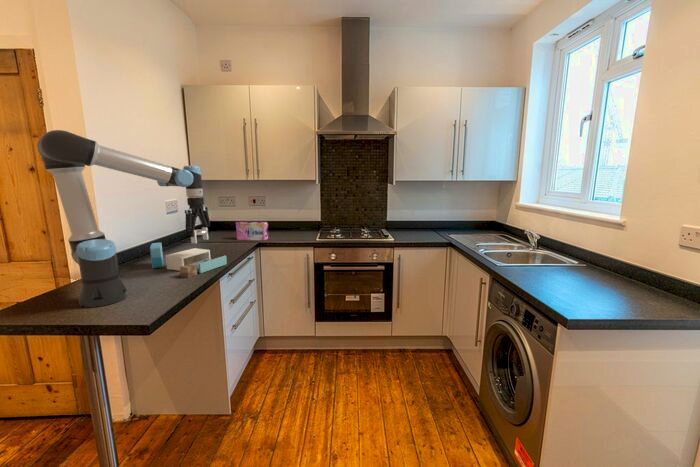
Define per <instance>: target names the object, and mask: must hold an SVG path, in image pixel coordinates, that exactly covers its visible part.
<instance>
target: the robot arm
mask: <svg viewBox="0 0 700 467" xmlns="http://www.w3.org/2000/svg"><path fill="white" fill-rule="evenodd" d="M36 148H37V152H38V154H39V155H40V156H41V159H42V162H43V165H44V169H45V171H47V172H49V173H51V174H52V176H53V179H54V183H55V185H56V189H57V191H58V195H59V199H60V202H61V205H62V208H63V211H64V214H65V218H66V221H67V223H68V227H69V231H70V233H71V234H70V236H69V238H68V239H67V240H68V243H69V246H70V250H71V251H70V252H71V259H73V262H75V263H76V264H77V265H78V268H79V273H80V279H81V288H80V292H79V296H78V304H79V306H80V307H82V306H84V307H83V308H95V307H96V308H98V307H103V306H108V305H111V304H114V303H118V302H121V301H124V300H125V299H126V298H128V296H129V295H128V289H127V288H126V286H125V284H124V282H123V281H122V280H121V277H120V270H119V261H118V256H117V254H118V253H117V247H116V244H115V242H114V241H112V240H110V239H107V238H106V235H105V233H104V232H103V231H101V230H99V227H98V224H97V220H96V218H95V217H96V216H95V213H94V210H93V206H92V202H91V199H90V196H89V193H88V188H87V186H86V182H85V179H84V174H83V171H84V170H85V169H86V166H87V167H92V166H97V167H103V168H106V169H110V170H114V171H118V172H122V173H126V174H130V175H133V176H137V177H141V178H145V179H149V180H152V181H153V180H154V181H156V182H157V185H158V186H160V187H165V188H167V187H181V188H185V193H186V195H185V196H186V197H187V199H186V201H187V203H186V204H187V206H189V207H188V209H184V213H185V231H189V237H190V241H191V244H197V243H198V241H197V240H198V239H197V235H196V230H197V229H195V227H196V224H197V222H196V221H197V218H199V221H200V222H201V225H202V226H201V229H207V230H208V231H209V228H210V226H211V220H210V217H209V216H210V215H209V210H208V207H207V206H203V205H205V198H204V197H203V196H204V193H203V190H204V189H203V180H202V173H201V168H200V166H199V165H184V166H183V168H178V167H174V166H172V165H171V166H170V165H168V164H164V163H161V162H157V161H154V160H150V159H147V158H145V157H144V158H143V157H142V156H141V157H140V156H137V155H134V154H130V153H127V152H123V151H120V150H116V149H113V148H111V147H106V146H103V145H100V144H98V142H97V141H96V140H93V139H90V138H86V137H83V136H81V135H79V134H76V133H72V132H70V131H67V130H62V129H61V130H60V129H54V130H50V131H48V132H45V133H44V134H43V135H42V136H41V137H39V139H38V141H37V144H36ZM202 239H203V241H204V240H205V241H206V240H207V241H208V240H209V232H208V233H207V234H204V235H202ZM97 306H98V307H97Z"/></svg>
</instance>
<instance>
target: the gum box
mask: <svg viewBox="0 0 700 467" xmlns="http://www.w3.org/2000/svg"><path fill="white" fill-rule="evenodd" d="M235 228H236V229H235V231H236V232H235V233H236V240H239V241H267V240H268V239H269V222H268V221H248V220H247V221H244V220H241V221H236V222H235Z"/></svg>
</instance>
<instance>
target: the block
mask: <svg viewBox="0 0 700 467" xmlns="http://www.w3.org/2000/svg"><path fill="white" fill-rule="evenodd" d="M179 272H180V277H182V278H188V279H189V278H192V277H194V276H197V275H198V271H197V268H196V265H192V264H187V265H184V266H181V267H180V271H179Z"/></svg>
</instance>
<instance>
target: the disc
mask: <svg viewBox="0 0 700 467" xmlns="http://www.w3.org/2000/svg"><path fill="white" fill-rule="evenodd" d="M195 230H196V236H203V235H204V234H207V233H208V234H209V229H208V230H207V229H202V228H201V229H195Z"/></svg>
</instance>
